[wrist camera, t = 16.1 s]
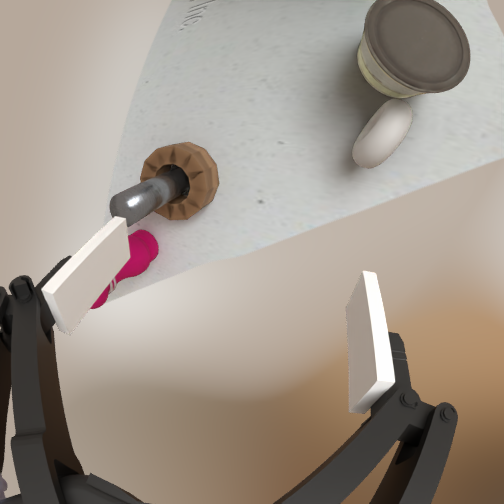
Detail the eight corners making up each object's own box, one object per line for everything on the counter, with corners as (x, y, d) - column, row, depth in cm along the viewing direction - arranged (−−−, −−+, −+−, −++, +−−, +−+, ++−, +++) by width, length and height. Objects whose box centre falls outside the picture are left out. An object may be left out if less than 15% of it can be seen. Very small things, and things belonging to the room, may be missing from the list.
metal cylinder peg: (179, 160, 44) (112, 188, 30) (200, 170, 44) (138, 202, 30) (172, 182, 46) (107, 217, 32) (193, 193, 46) (132, 232, 32)
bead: (167, 132, 42) (151, 136, 38) (228, 159, 42) (217, 165, 38) (150, 192, 48) (134, 200, 44) (204, 221, 47) (192, 232, 44)
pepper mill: (129, 222, 52) (52, 275, 35) (161, 232, 51) (86, 293, 34) (130, 255, 56) (62, 312, 39) (160, 266, 55) (95, 332, 37)
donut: (365, 166, 37) (373, 183, 28) (345, 150, 37) (347, 162, 28) (407, 111, 32) (428, 111, 23) (386, 94, 31) (402, 89, 23)
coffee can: (361, 19, 27) (369, -22, 15) (433, 43, 26) (473, 16, 14) (350, 86, 32) (357, 71, 20) (423, 109, 31) (463, 109, 19)
